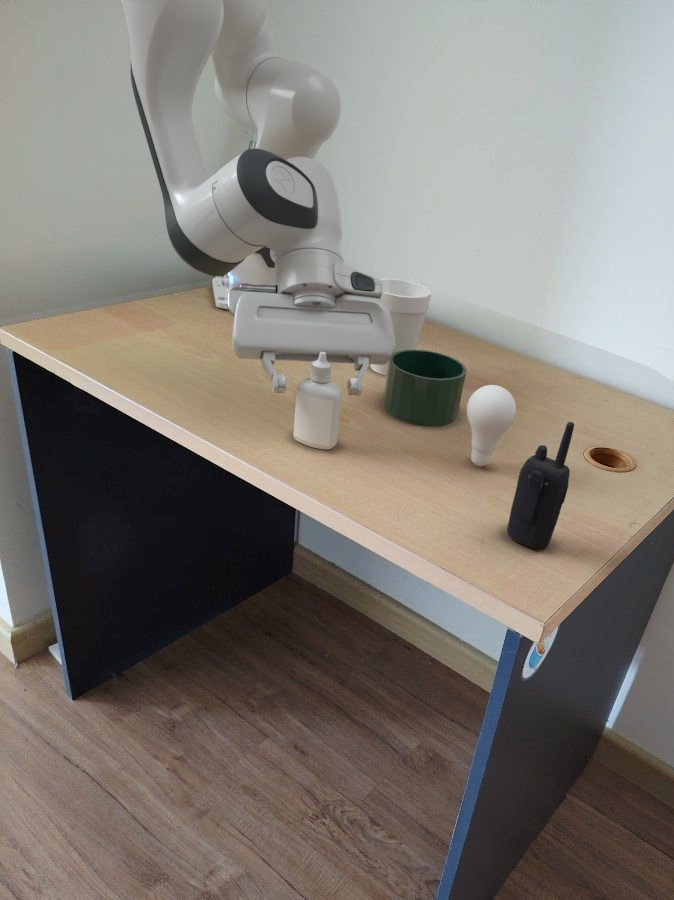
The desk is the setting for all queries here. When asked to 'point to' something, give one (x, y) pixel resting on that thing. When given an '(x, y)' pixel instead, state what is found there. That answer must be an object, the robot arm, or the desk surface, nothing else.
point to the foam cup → (404, 313)
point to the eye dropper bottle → (318, 407)
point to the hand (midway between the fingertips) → (317, 392)
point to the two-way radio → (540, 495)
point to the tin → (424, 387)
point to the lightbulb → (489, 420)
